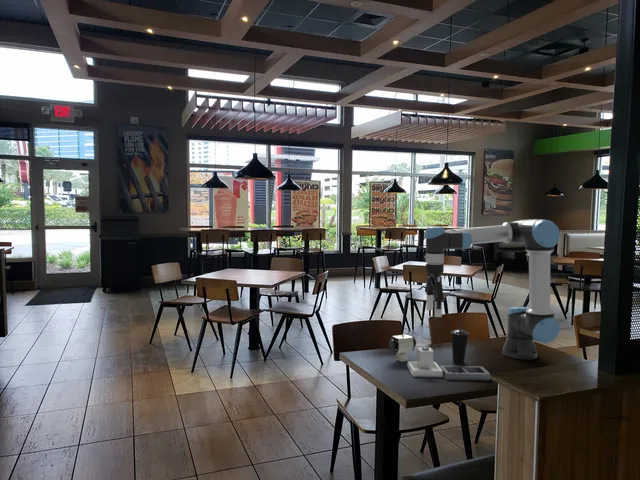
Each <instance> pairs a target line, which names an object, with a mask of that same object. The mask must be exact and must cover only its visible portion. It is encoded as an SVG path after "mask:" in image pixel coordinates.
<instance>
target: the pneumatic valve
mask: <svg viewBox="0 0 640 480" xmlns="http://www.w3.org/2000/svg"><path fill="white" fill-rule="evenodd" d="M416 346H417V341H416V338H415V337H414V336H412V335H410V334H404V333H403V334H401V335H392V336H391V338H390V340H389V341H388V347H389V349H390V350H391V351H393V352H394V353H396V355H395V359H396V360H397V361H399V362H400V363H401V362H408V359H409V354H408V353H407V352H413V351H414V350H415V348H416Z"/></svg>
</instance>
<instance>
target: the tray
mask: <svg viewBox="0 0 640 480" xmlns="http://www.w3.org/2000/svg"><path fill="white" fill-rule="evenodd" d="M407 368H408V370H409V372H410V375H411V376H412V377H415V378H416V377H420V378H444V377H443V371H442V369H441V368H440V365H438V363H437V362H436V361H433V370H417V361H408V360H407Z"/></svg>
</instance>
